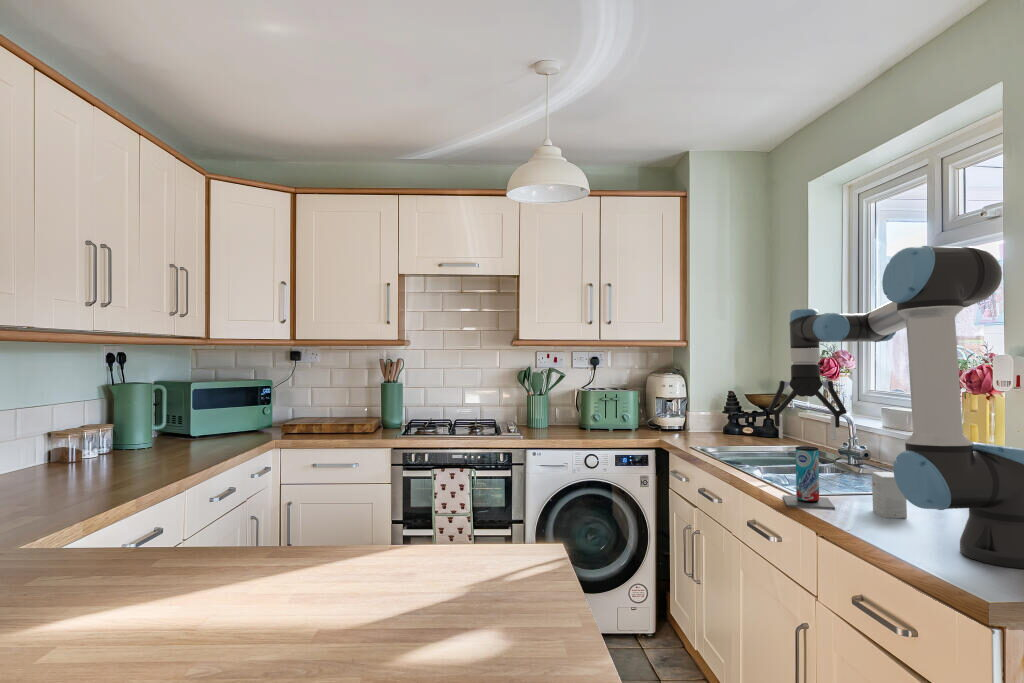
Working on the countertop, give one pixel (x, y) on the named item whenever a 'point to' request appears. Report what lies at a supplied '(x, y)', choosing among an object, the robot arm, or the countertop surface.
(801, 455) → the beverage can
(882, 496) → the small box
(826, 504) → the coaster
